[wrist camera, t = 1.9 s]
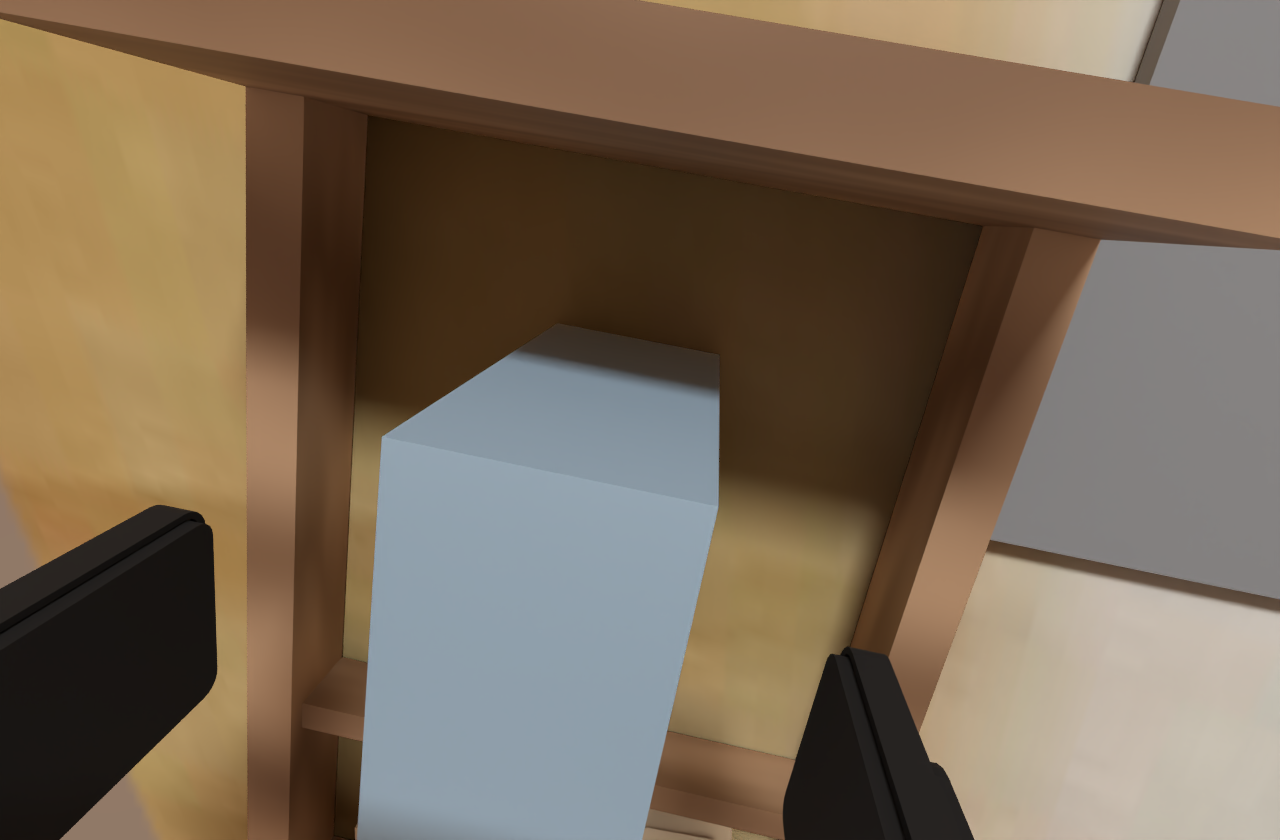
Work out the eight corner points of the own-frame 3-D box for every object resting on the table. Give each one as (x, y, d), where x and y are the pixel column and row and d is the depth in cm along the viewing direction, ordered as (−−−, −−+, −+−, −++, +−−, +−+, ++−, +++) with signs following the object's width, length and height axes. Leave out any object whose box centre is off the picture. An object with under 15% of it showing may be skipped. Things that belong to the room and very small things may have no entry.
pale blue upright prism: (659, 635, 19) (607, 989, 10) (519, 604, 19) (351, 925, 10) (719, 354, 16) (718, 507, 8) (557, 322, 17) (382, 436, 8)
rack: (787, 972, 22) (824, 1383, 14) (297, 852, 23) (82, 1176, 15) (1059, 178, 14) (1443, 134, 7) (319, 48, 15) (-79, -119, 8)
